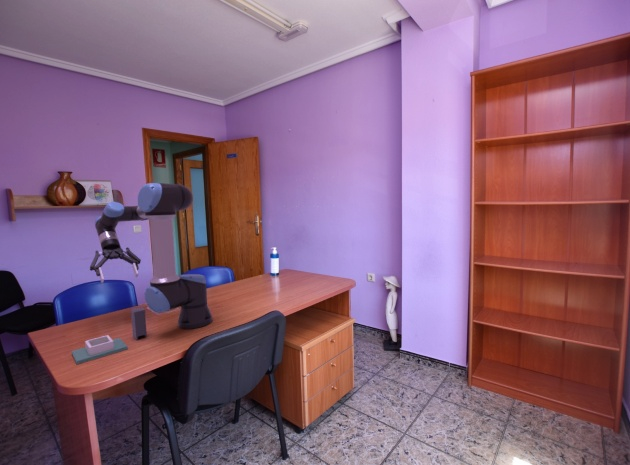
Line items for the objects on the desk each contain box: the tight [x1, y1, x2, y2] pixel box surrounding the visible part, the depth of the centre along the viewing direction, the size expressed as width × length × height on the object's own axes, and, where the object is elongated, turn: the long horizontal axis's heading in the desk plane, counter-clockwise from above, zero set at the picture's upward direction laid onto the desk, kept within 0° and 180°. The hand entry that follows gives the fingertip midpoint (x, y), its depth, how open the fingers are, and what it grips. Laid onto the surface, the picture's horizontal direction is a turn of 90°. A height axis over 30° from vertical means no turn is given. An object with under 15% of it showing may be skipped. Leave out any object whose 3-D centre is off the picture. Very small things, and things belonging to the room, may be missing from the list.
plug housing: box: [130, 307, 148, 341], centre depth 134 cm, size 4×5×12 cm
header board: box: [71, 334, 129, 365], centre depth 121 cm, size 16×12×4 cm
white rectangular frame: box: [146, 306, 180, 316], centre depth 173 cm, size 11×1×18 cm
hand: (120, 278), depth 143 cm, fingers open, 13 cm apart
